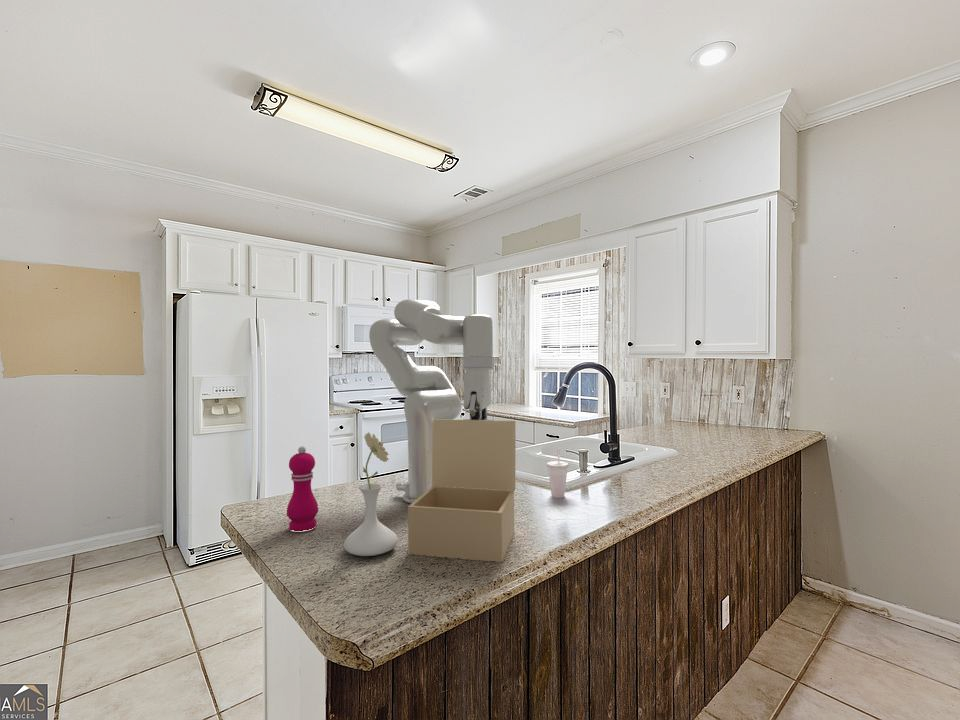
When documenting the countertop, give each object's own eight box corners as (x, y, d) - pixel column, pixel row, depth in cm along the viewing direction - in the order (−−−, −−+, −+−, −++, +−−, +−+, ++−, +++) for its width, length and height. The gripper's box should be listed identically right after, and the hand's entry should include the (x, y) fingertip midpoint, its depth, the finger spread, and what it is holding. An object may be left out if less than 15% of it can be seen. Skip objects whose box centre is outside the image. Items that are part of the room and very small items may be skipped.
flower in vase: (401, 557, 97) (399, 436, 97) (343, 565, 94) (342, 440, 94) (394, 535, 110) (393, 428, 110) (343, 540, 106) (342, 430, 106)
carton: (408, 554, 99) (407, 506, 99) (433, 527, 114) (432, 486, 114) (502, 562, 94) (501, 512, 94) (514, 533, 110) (514, 490, 110)
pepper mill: (288, 536, 110) (287, 450, 110) (285, 526, 116) (284, 445, 116) (320, 530, 113) (319, 447, 113) (316, 521, 119) (315, 442, 119)
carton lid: (432, 419, 116) (441, 417, 122) (431, 486, 114) (440, 481, 121) (515, 420, 111) (519, 419, 118) (514, 490, 110) (519, 485, 116)
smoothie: (573, 495, 139) (572, 448, 139) (561, 500, 135) (560, 451, 135) (555, 491, 144) (554, 445, 144) (542, 496, 139) (542, 449, 139)
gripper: (471, 363, 128) (472, 430, 128) (454, 364, 111) (455, 441, 111) (498, 363, 126) (499, 431, 126) (485, 364, 110) (486, 442, 110)
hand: (478, 435), depth 119 cm, fingers open, 4 cm apart
